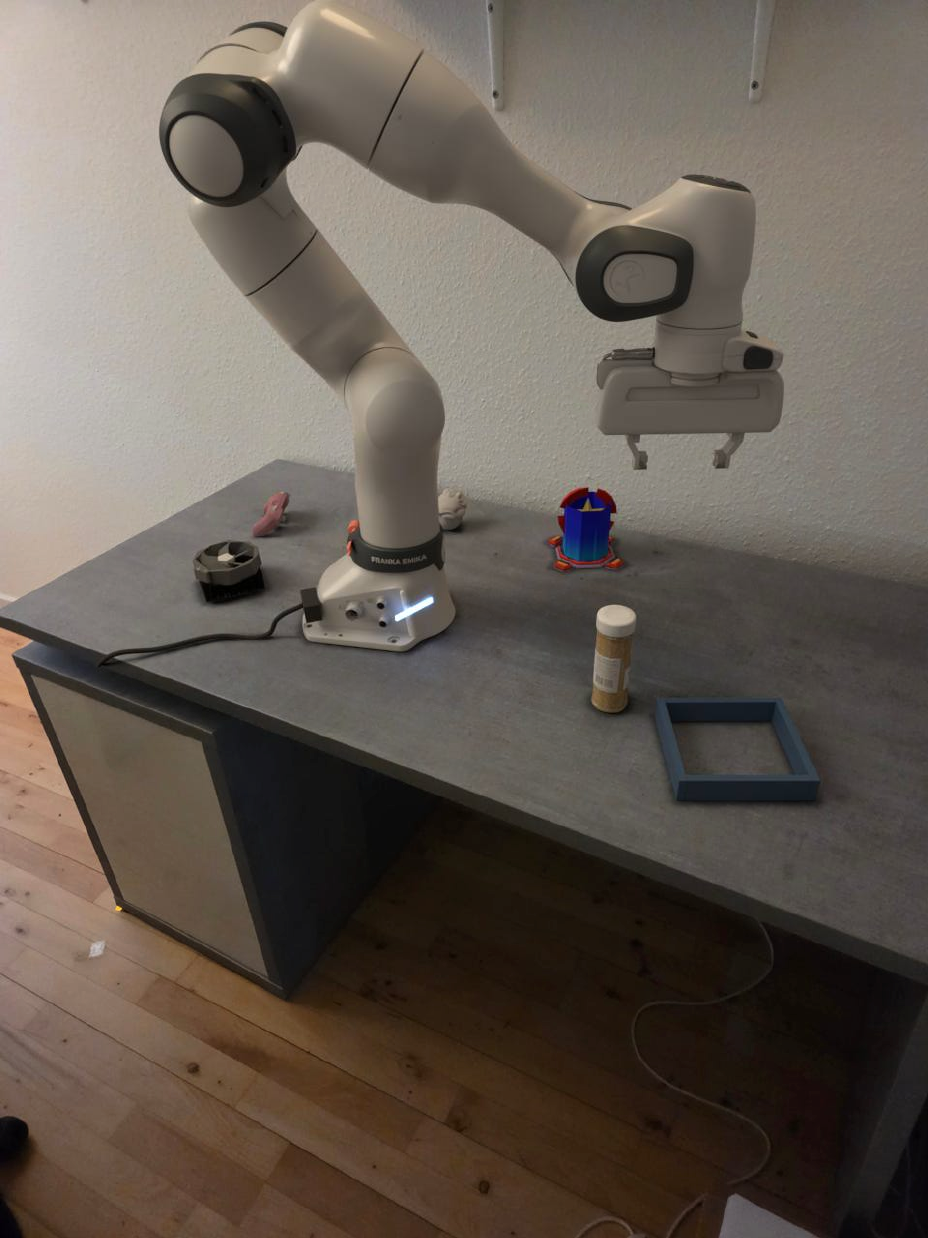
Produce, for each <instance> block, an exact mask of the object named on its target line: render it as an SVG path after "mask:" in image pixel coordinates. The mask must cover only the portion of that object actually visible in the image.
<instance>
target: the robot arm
mask: <svg viewBox="0 0 928 1238" xmlns="http://www.w3.org/2000/svg"><path fill="white" fill-rule="evenodd" d="M158 139H159V145H160V149H161V153H162V155H163V159H164V160H165V163H166V165H167V166H168V169H169V170H170V171H171V173H172V175H173V176H174V177H175V179H176V180H177V181H178V183H179V184H180V185H181V186H182V187H183V188H184V189H185V190H186V191H187V192H188V193H189V195H188V199H187V213H188V217H189V220H190V222H191V224H192V226H193V227H194V229H195V231H196V233H197V234H198V236H199V238H200V239H201V241H202V242H203V244H204V246H205V247H206V249H207V250H208V252H209V253H210V255H211V256H212V257H213V259H214V260H215V261H216V263H217V264H218V266H219V267H220V268H221V270H222V271H223V272H224V274H225V275H226V276H227V278H228V279H229V280H230V281H231V283H232V284H233V285H234V286H235V287H236V289H238V291H239V292H240V293H241V294H242V295H243V297H244V298H245V299H246V300H247V301H248V302H249V303H250V304H251V306H252V307H253V308H254V309H255V310H256V312H257V313H259V315H260V316H261V317H262V318H263V320H265V322H266V323H267V324H268V325H269V326H270V327H271V329H272V330H274V331H275V333H276V334H277V335H278V336H279V337H280V338H281V340H282V341H283V342H284V343H285V344H286V345H287V347H288V348H290V350H291V351H292V352H293V353H294V354H296V355H297V356H298V357H299V358H301V359H302V361H303V362H305V364H307V365H308V366H309V367H310V368H311V369H312V370H313V371H314V373H316V374H317V375H318V376H319V377H320V378H321V379H322V380H323V381H324V382H325V383H326V384H327V385H328V386H329V387H330V389H331V390H333V391H334V393H335V394H336V395H337V396H338V397H339V399H340V400H341V402H342V403H343V405H344V406H345V408H346V410H347V411H348V414H349V418H350V421H351V426H352V431H353V447H354V481H353V483H354V490H355V498H356V499H355V500H356V507H357V516H358V519H352V520H351V521H350V522H349V525H348V527H347V534H348V535H347V539H346V544H347V545H346V552H347V553H346V554H344V555H343V556H342V557H340V558H339V559H336V560H335V562H333V563H332V564H330V565H329V566H327V568H326V569H325V570H324V572H323V573H322V575H321V577H320V578H319V582H318V583H317V587H309V588H303V589H300V590H299V593H300V599H301V602H300V603H298V604H296V605H294V606H291V607H290V608H288V609H285V610H284V611H282V612H280V613H279V614H277V615H276V616H275V618H273V620H272V621H271V624H270V627H269V629H268V631H266V632H264V633H261V634H258V635H243V634H236V633H213V634H207V635H202V636H196V637H192V638H188V639H184V640H180V641H176V642H172V643H167V644H163V645H158V646H151V647H137V648H136V647H133V648H125V649H119V650H114V651H112V652H109V653H107V654H105V655H104V656H103V657H101V658H100V659H99V660H98V661H97V662H96V664H95V666H94V667H95V668H100V667H102V666H103V665H104V664H106V662H108V661H109V660H111V659H113V658H116V657H119V656H125V655H134V654H135V655H137V654H151V653H157V652H159V653H160V652H164V651H168V650H172V649H177V648H181V647H185V646H189V645H192V644H197V643H200V642H205V641H206V642H207V641H212V640H220V639H222V640H223V639H225V640H226V639H227V640H237V641H238V640H239V641H260V640H265V639H267V638H270V637H271V636H272V635H273V634H274V633H275V631H276V628H277V625H278V623H279V622H280V621H281V620H282V619H283V618H285V617H287V616H289V615H291V614H293V613H295V612H298V611H299V610H301V609H303V614H302V622H301V623H302V633H303V636H304V637H305V639H306V640H307V641H308V642H312V643H318V644H328V645H336V646H337V645H338V646H348V647H356V648H357V647H358V648H366V649H374V650H383V651H391V652H399V653H400V652H407V651H410V650H411V649H412V648H413V647H415V646H416V645H417V644H418V643H420V642H422V641H424V640H426V639H429V638H431V637H433V636H436V635H437V634H440V633H441V632H443V631H445V630H446V629H447V628H448V627H449V626H450V625H451V624H452V622H453V621H454V619H455V616H456V607H455V604H454V603H453V600H452V596H451V595H450V591H449V587H448V583H447V578H446V573H445V567H444V566H445V561H446V545H445V542H446V541H445V535H444V529H443V528H442V525H441V524H440V523H439V506H438V497H439V492H438V491H439V489H438V469H439V461H440V452H441V443H442V434H443V431H444V428H445V423H446V412H445V411H446V410H445V404H444V399H443V395H442V392H441V388H440V386H439V384H438V383H437V381H436V379H435V378H434V377H433V376H432V374H431V373H430V371H429V370H428V369H427V368H426V366H425V365H424V364H423V363H422V362H421V360H420V359H419V358H418V356H417V355H415V353H414V352H413V350H412V349H411V348H410V347H409V345H408V344H407V343H406V342H405V340H404V339H403V337H402V336H401V335H400V334H399V333H398V331H397V330H396V329H395V328H394V326H393V325H392V324H391V322H390V321H389V320H388V318H387V317H386V316H385V315H384V313H383V312H382V311H381V309H380V308H379V307H378V305H377V304H376V303H375V302H374V300H373V299H372V297H371V296H370V295H369V294H368V292H367V291H366V289H365V288H364V287H363V286H362V284H361V282H359V280H358V279H357V277H355V275H354V274H353V272H352V271H351V270H350V269H349V267H348V266H347V264H346V263H345V262H344V261H343V259H342V258H341V257H340V255H339V254H338V253H337V252H336V250H335V248H333V246H331V244H330V242H329V241H328V240H327V239H326V238H325V237H324V235H323V234H322V232H321V231H320V230H319V229H318V228H317V226H316V225H315V224H314V222H313V221H312V220H311V218H310V217H309V216H308V215H307V214H306V212H305V211H304V210H303V208H302V207H301V205H299V204H298V202H297V200H296V199H295V197H294V196H293V194H292V191H291V190H290V187H289V183H288V179H287V178H288V176H287V171H288V166H290V164H291V163H292V162H294V161H295V160H296V159H297V158H298V156H299V154H300V152H301V150H302V148H303V146H305V145H307V144H311V143H318V144H323V145H327V146H329V147H332V148H334V149H335V150H337V151H339V152H341V153H342V154H344V155H345V156H347V157H348V158H350V159H351V160H353V161H354V162H355V163H357V164H358V165H359V166H361V167H363V169H366V170H368V172H370V173H371V174H373V175H374V176H376V177H377V178H379V179H381V180H382V181H384V182H386V183H387V184H389V185H390V186H392V187H395V188H397V189H398V190H401V191H402V192H404V193H407V194H409V195H411V196H413V197H415V198H419V199H421V200H423V201H426V202H428V203H431V204H438V205H439V204H441V205H444V204H447V205H449V204H451V205H452V204H453V205H454V204H455V205H465V206H471V207H475V208H478V209H481V210H483V211H486V212H488V213H490V214H492V215H494V216H496V217H498V218H499V219H501V220H502V221H504V222H505V223H507V224H508V225H510V226H511V227H513V228H515V229H516V230H517V231H518V232H520V233H522V234H523V235H525V236H527V237H528V238H530V239H531V240H532V241H534V242H535V243H537V244H538V245H540V246H542V247H543V248H544V249H546V251H548V252H549V253H550V254H551V255H552V256H553V257H554V258H555V259H556V260H557V262H558V264H559V265H560V268H561V269H562V271H563V273H564V275H565V276H566V278H567V280H568V281H569V283H570V284H571V285H572V287H573V288H574V291H575V293H576V294H577V296H578V299H579V300H580V302H581V304H582V305H583V306H584V307H585V309H586V310H587V311H588V312H590V313H591V314H592V315H593V316H595V317H596V318H598V319H600V320H602V321H606V322H610V323H624V322H625V323H626V322H631V321H636V320H637V321H638V320H642V319H646V318H651V317H656V318H655V319H656V320H655V328H654V336H653V337H654V338H653V347H639V348H630V349H625V348H615V349H612V350H611V352H609V353H607V354H604V355H603V356H602V357H601V358H600V359H599V361H598V362H597V365H596V376H595V381H596V385H597V387H598V388H599V392H598V397H597V402H596V409H595V423H596V426H597V429H598V430H599V431H600V432H601V433H602V434H603V436H624V439H625V441H626V444H627V445H628V448H629V449H630V452H631V453H632V461H631V467H632V469H633V471H646V470H647V469H648V465H647V463H648V460H649V456H648V454H647V451H646V450H639V448H638V446H637V444H639V443H640V442H641V436H643V435H646V436H647V435H648V436H649V435H698V434H699V435H700V434H726V435H727V437H728V439H727V441H726V442H725V444H723V446H722V448H721V449H713V450H714V451H713V456H714V457H713V458H712V466H713V467H714V469H715V470H718V469H719V470H720V469H721V470H722V469H723V470H724V469H729V467H730V462H731V457H732V456H733V455H734V454H735V452H736V451H737V450H738V448H739V447H740V446H741V445H742V444H743V442H744V439H745V435H746V434H753V433H754V434H755V433H757V434H758V433H762V434H763V433H764V434H765V433H772V432H773V431H774V430H775V429H776V428H777V427H778V426H779V425H780V423H781V420H782V414H783V408H784V395H785V382H784V378H783V376H782V374H781V372H780V371H778V369H780V368H781V366H782V364H783V362H784V352H783V350H782V349H781V347H780V346H779V345H778V344H777V343H776V342H774V341H773V340H772V339H771V338H770V337H767V336H766V335H764V334H761V333H758V332H754V331H751V330H749V329H745V328H742V326H743V321H744V311H743V295H744V292H745V291H744V290H745V288H746V286H747V283H748V281H749V279H750V275H751V269H752V263H753V257H754V255H753V254H754V248H755V237H756V222H757V221H756V220H757V209H756V200H755V196H754V195H753V194H752V192H751V190H750V189H748V188H747V187H746V186H745V185H744V184H741V183H739V182H738V181H737V182H736V181H734V180H728V179H725V178H721V177H716V176H711V175H704V174H695V173H693V174H685V175H683V176H681V177H679V178H678V179H677V180H676V181H675V182H674V184H672V185H671V186H670V187H668V188H667V189H666V190H664V191H662V192H661V193H660V194H658V195H656V196H655V197H653V198H651V199H650V200H648V201H646V202H644V203H642V204H641V205H639V206H636V207H634V208H632V207H630V206H628V205H626V204H623V203H619V202H615V201H608V200H599V199H592V198H588V197H586V196H584V195H582V194H581V193H579V192H576V191H575V190H573V189H572V188H571V187H569V186H568V185H566V184H565V183H563V182H562V181H561V180H560V179H558V178H556V176H554V175H552V174H551V173H550V172H548V171H546V170H545V169H544V168H542V167H541V166H539V164H537V163H535V162H534V161H532V160H531V159H530V158H528V157H527V156H526V155H525V154H524V153H522V152H521V151H520V150H519V149H518V148H517V147H516V146H515V145H514V143H512V141H510V139H509V138H508V137H507V135H506V134H505V133H504V132H503V130H502V129H501V127H500V125H499V124H498V123H497V122H496V120H495V118H494V117H493V116H492V114H491V112H490V111H489V109H488V108H487V107H486V106H485V104H484V103H483V102H482V101H481V99H479V98H478V96H477V95H476V94H475V93H474V92H473V90H471V88H470V87H469V86H468V85H466V83H465V82H463V80H461V78H459V77H458V76H457V74H455V73H454V72H453V71H452V70H451V69H450V68H449V67H447V65H446V64H444V63H443V62H441V60H440V59H438V58H436V56H434V55H433V54H431V53H430V52H428V51H427V50H425V48H423V47H422V46H420V45H419V44H418V43H416V42H415V41H413V39H412V40H411V38H409V37H408V36H406V35H404V34H402V33H401V32H399V31H398V30H396V29H394V28H393V27H391V26H389V25H388V24H386V23H385V22H382V21H381V20H379V19H377V18H375V17H374V16H372V15H369V14H367V13H366V12H364V11H361V10H359V9H357V8H356V7H354V6H351V5H349V4H346V3H345V2H342V1H341V0H312V1H311V2H309V3H307V4H306V5H304V6H303V7H302V8H301V9H300V10H299V11H298V13H296V15H295V16H294V17H293V19H292V21H291V22H290V23H289V25H288V26H285V25H283V24H280V23H277V22H272V21H262V20H261V21H254V22H249V23H245V24H243V25H241V26H239V27H237V28H235V29H234V30H232V32H231V33H229V35H228V36H226V37H224V38H223V39H221V40H219V41H218V42H217V43H215V44H214V45H213V46H211V47H210V48H208V49H207V50H206V51H204V53H203V54H202V55H201V56H200V57H199V59H198V60H197V62H196V64H195V65H194V67H193V68H192V69H191V70H190V71H189V73H188V74H187V75H186V77H185V78H183V79H181V80H180V81H179V82H178V83H176V85H175V86H174V87H173V88H172V90H171V92H170V93H169V95H168V97H167V98H166V100H165V103H164V106H163V108H162V111H161V115H160V119H159V126H158Z"/></svg>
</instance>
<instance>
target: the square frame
mask: <svg viewBox="0 0 928 1238" xmlns="http://www.w3.org/2000/svg"><path fill="white" fill-rule="evenodd" d="M654 720H655V724H656V728H657V731H658V736H659V739H660V743H661V747H662V752H663V755H664V759H665V763H666V767H667V771H668V775H669V779H670V783H671V786H672V790H673V795H674V798H675V801H815V800H816V797H817V794H818V790H819V787H820V785H821V778H820V776H819V775H818V772H817V770H816V767H815V765H814V764H813V762H812V759H811V757H810V756H809V753H808V751H807V749H806V746H805V744H804V742H803V740H802V738H801V736H800V734H799V732H798V730H797V727H796V726H795V723H794V722H793V719H792V718H791V715H790V712H789V711H788V709H787V707H786V705H785V703H784V700H783V698H782V697H777V696H775V697H774V696H773V697H770V696H769V697H768V696H767V697H765V696H764V697H761V696H760V697H755V696H753V697H751V696H750V697H657V698H656V703H655V709H654ZM672 722H771V723H772V725H773V728H774V730H775V732H776V735H777V737H778V739H779V742H780V743H781V746H782V748H783V750H784V753H785V755H786V757H787V760H788V762H789V764H790V766H791V769H792V771H793V774H687V773H686V770H685V767H684V763H683V759H682V756H681V752H680V749H679V745H678V742H677V738H676V734H675V731H674V728H673V723H672Z"/></svg>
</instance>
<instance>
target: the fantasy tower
mask: <svg viewBox="0 0 928 1238" xmlns="http://www.w3.org/2000/svg"><path fill="white" fill-rule="evenodd" d="M589 489H590V488H589V486H587V487H585V486H584V487H578V488H576V489H573V490H571V491H570V492H568V493H567V495H566V496H565V497H563V499H562V500H561V502H560V505H559V508H560V509H563V515H557V523H558V526H559V528H560V530H561V532H562V535H555V536H553V537H552V538H550V539H549V540H547V542H546V544H547V545H548V546H549V547H551V548H553V549H554V552H555V556H556V560H557V561H556V562H555V563H554V565H553V566H552V569H553V570H556V571H559V572H560V573H563V574H564V573H567V572H571V571H573V570H575V569H597V568H598V569H600V568H604V569H607V570H612V571H619V570H620V569H622V568H623V567H625V566H626V564H625V563H624V562H623V560H621V559H620V558H619V557H617V556H615V554H614V553H615V552H614V551H613V548H612V545H614V543H615V541H616V539H615V538H614V537H613V536H612V535H610V531H611V529H612V528H613V526H614V523H615V520H611V516H612V515H613V514H617V513H618V512H617V503H616V502H615V500H614V499H613V496H612V495H611V494H610V493H609V492H608V491H607V490H604V489H602V488H598V487H597V490H596V491H594V490H593V491H589Z"/></svg>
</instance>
